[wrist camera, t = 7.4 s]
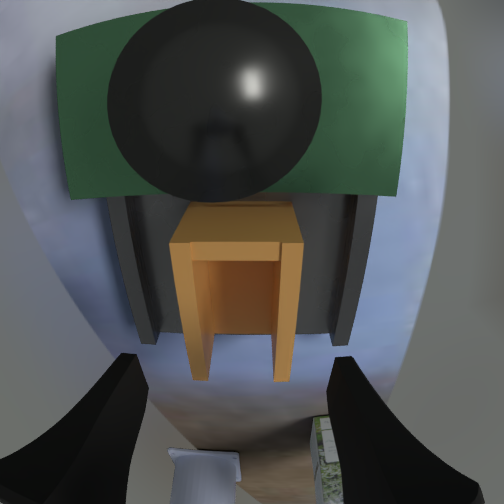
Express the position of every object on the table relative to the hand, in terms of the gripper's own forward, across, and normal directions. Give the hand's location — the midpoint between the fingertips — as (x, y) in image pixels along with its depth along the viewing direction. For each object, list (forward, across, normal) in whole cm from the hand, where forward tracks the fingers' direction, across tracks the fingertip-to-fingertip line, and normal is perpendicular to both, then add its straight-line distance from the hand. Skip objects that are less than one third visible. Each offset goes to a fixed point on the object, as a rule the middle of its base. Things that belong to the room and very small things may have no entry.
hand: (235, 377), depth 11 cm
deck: (+8, +1, -4) cm, 9 cm away
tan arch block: (+8, 0, 0) cm, 8 cm away
